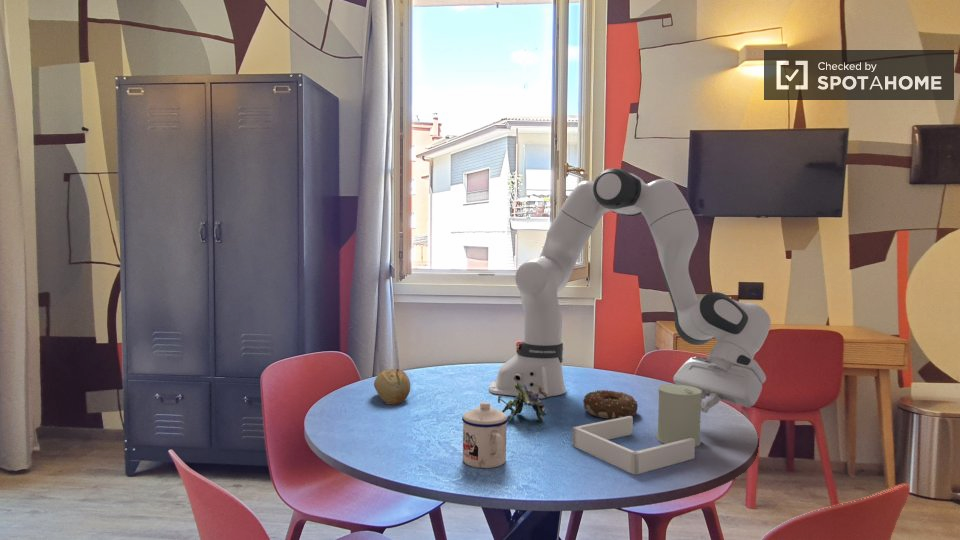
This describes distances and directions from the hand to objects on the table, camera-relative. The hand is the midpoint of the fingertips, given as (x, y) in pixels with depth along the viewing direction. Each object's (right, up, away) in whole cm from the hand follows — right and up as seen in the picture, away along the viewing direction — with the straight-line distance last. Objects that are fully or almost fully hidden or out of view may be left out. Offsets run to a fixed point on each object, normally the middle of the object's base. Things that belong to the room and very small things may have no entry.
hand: (699, 409), depth 133 cm
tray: (-18, -6, -10) cm, 21 cm away
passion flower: (-39, -5, +9) cm, 41 cm away
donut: (-16, -5, +17) cm, 24 cm away
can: (-6, -6, -3) cm, 9 cm away
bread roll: (-74, -4, +28) cm, 79 cm away
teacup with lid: (-49, -6, -18) cm, 52 cm away
